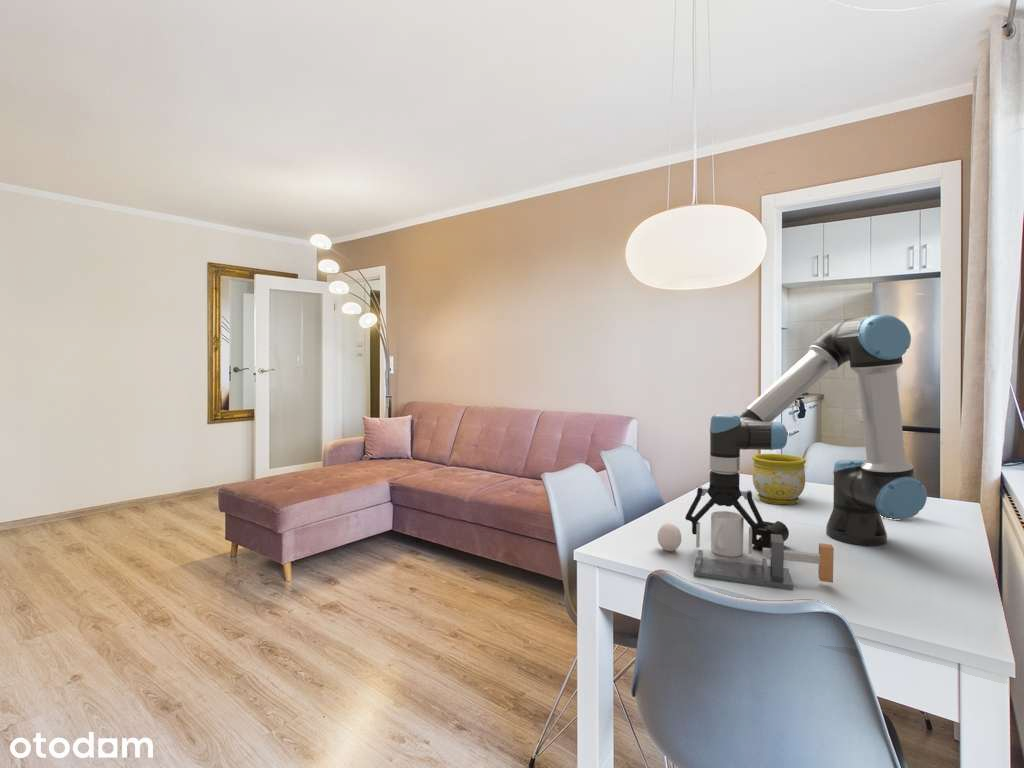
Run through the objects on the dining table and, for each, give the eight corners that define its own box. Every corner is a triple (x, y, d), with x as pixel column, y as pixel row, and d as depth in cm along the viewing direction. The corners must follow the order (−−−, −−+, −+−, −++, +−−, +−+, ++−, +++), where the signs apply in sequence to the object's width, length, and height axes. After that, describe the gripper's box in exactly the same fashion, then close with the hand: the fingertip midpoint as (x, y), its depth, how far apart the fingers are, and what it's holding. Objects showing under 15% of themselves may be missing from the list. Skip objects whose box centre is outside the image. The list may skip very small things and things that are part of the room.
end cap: (778, 555, 144) (778, 531, 143) (751, 549, 148) (751, 525, 148) (789, 546, 151) (789, 522, 151) (762, 540, 156) (762, 518, 156)
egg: (686, 551, 147) (686, 523, 147) (671, 556, 143) (671, 527, 143) (667, 545, 152) (667, 517, 152) (652, 549, 148) (652, 521, 148)
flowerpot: (815, 507, 192) (816, 461, 191) (765, 507, 192) (765, 461, 191) (789, 494, 210) (790, 453, 209) (744, 494, 210) (744, 453, 209)
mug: (728, 563, 138) (729, 524, 138) (698, 555, 144) (699, 517, 144) (748, 552, 146) (748, 515, 146) (719, 544, 152) (719, 509, 152)
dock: (788, 573, 131) (789, 533, 131) (792, 590, 122) (793, 546, 121) (696, 561, 140) (696, 523, 139) (693, 576, 130) (694, 535, 129)
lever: (831, 578, 124) (831, 544, 124) (833, 582, 122) (833, 548, 122) (762, 569, 130) (762, 537, 130) (762, 573, 127) (763, 540, 127)
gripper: (774, 472, 143) (772, 550, 144) (678, 465, 152) (677, 539, 153) (776, 477, 136) (774, 560, 137) (675, 470, 146) (675, 547, 146)
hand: (723, 549), depth 145 cm, fingers open, 12 cm apart
